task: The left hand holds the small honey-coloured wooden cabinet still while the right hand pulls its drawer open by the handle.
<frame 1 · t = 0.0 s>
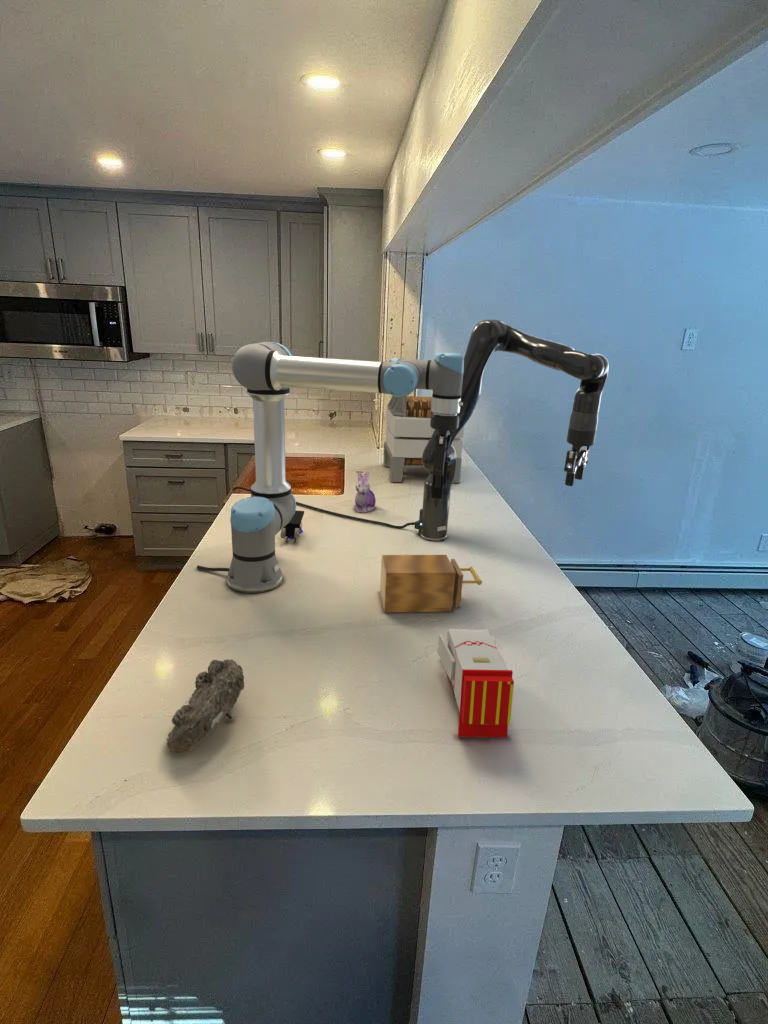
left hand: (439, 490, 156), 28 cm above the counter, tool pointing down, fingers open, 13 cm apart
right hand: (573, 482, 165), 29 cm above the counter, tool pointing down, fingers open, 8 cm apart
cabinet: (414, 601, 154), on the counter
fossil: (212, 717, 108), on the counter
grey boxy piece: (419, 473, 275), on the counter
drawer: (437, 582, 153), point 6 cm above the counter, slide at 1.1 cm
figurine: (364, 509, 223), on the counter
toy: (469, 691, 119), on the counter
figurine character: (292, 537, 193), on the counter
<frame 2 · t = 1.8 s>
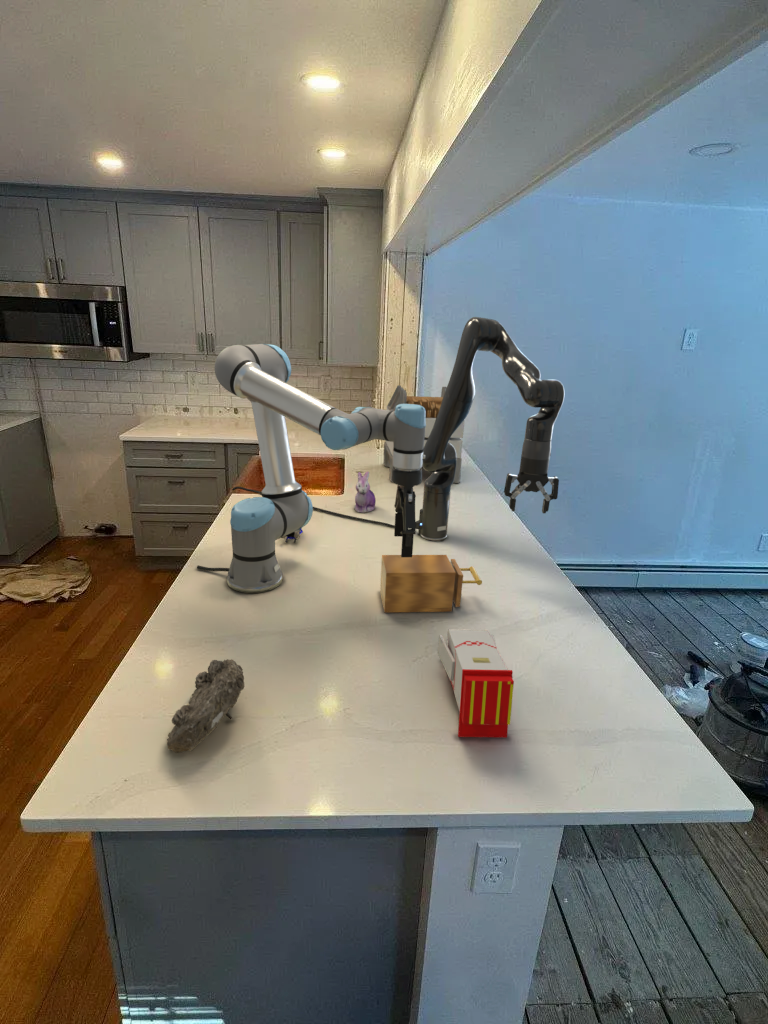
left hand: (402, 546, 148), 16 cm above the counter, tool pointing down, fingers open, 13 cm apart
right hand: (528, 511, 158), 23 cm above the counter, tool pointing down, fingers open, 8 cm apart
nothing on the counter moved.
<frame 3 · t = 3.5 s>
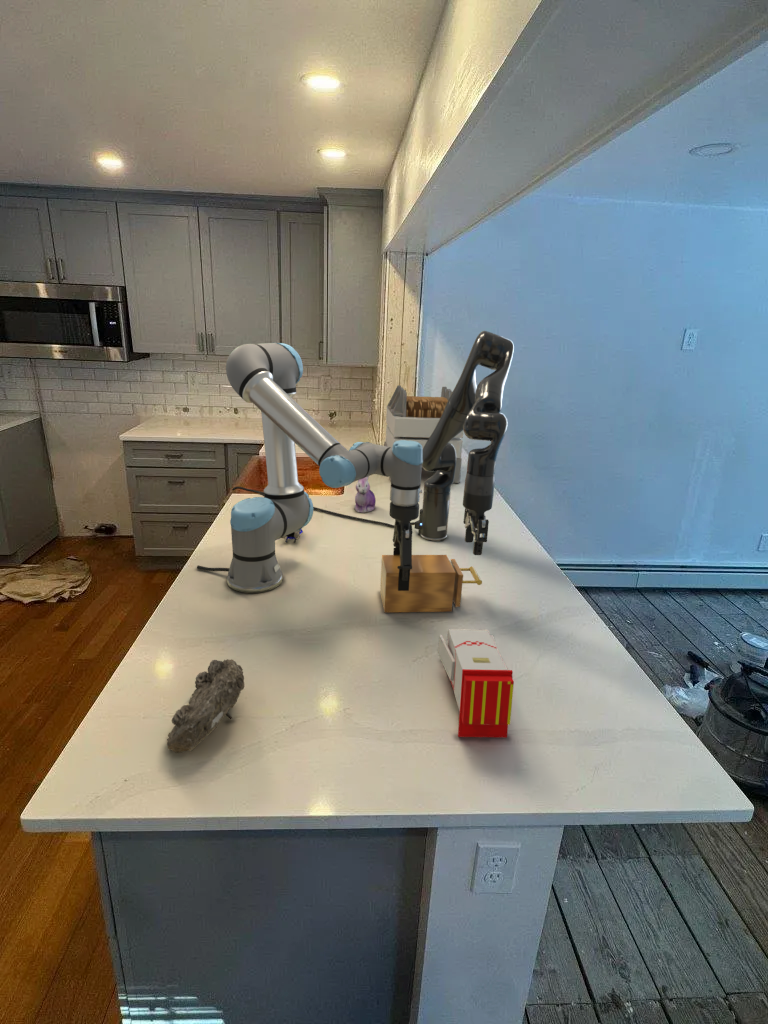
left hand: (400, 579, 151), 7 cm above the counter, tool pointing down, fingers closed on cabinet, 11 cm apart
right hand: (472, 548, 151), 16 cm above the counter, tool pointing down, fingers open, 8 cm apart
cabinet: (414, 601, 154), on the counter, touching left hand
everything else where it was.
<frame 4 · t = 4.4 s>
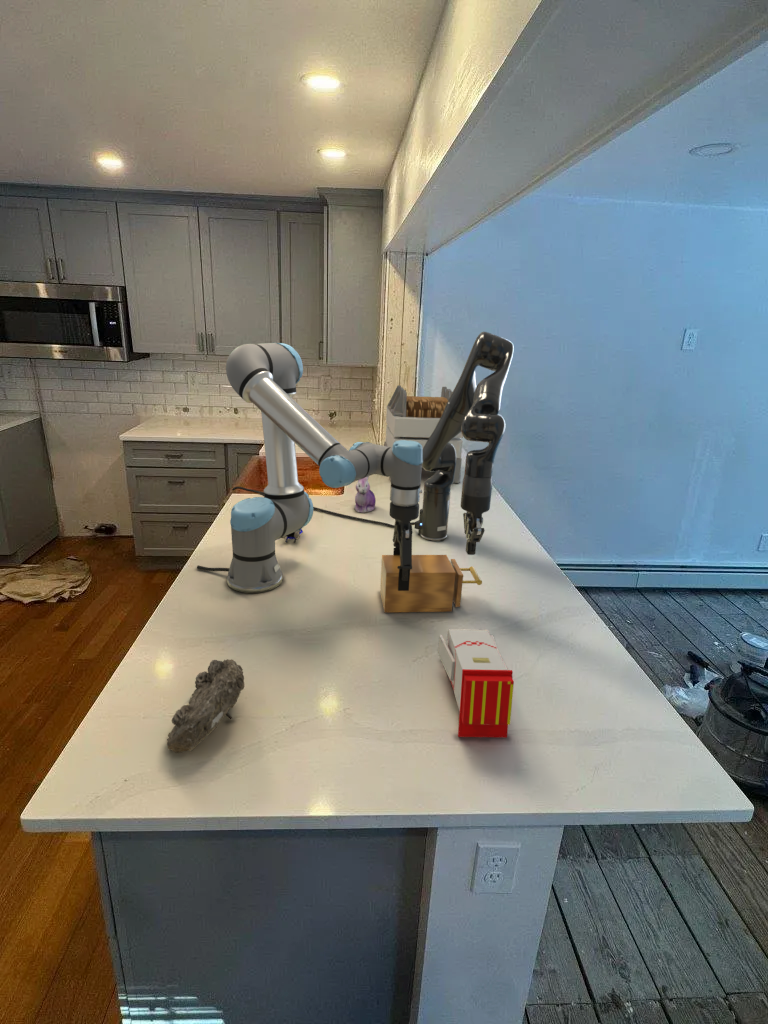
left hand: (400, 579, 151), 7 cm above the counter, tool pointing down, fingers closed on cabinet, 11 cm apart
right hand: (470, 553, 151), 14 cm above the counter, tool pointing down, fingers closed
cabinet: (414, 601, 154), on the counter, touching left hand
everything else where it was.
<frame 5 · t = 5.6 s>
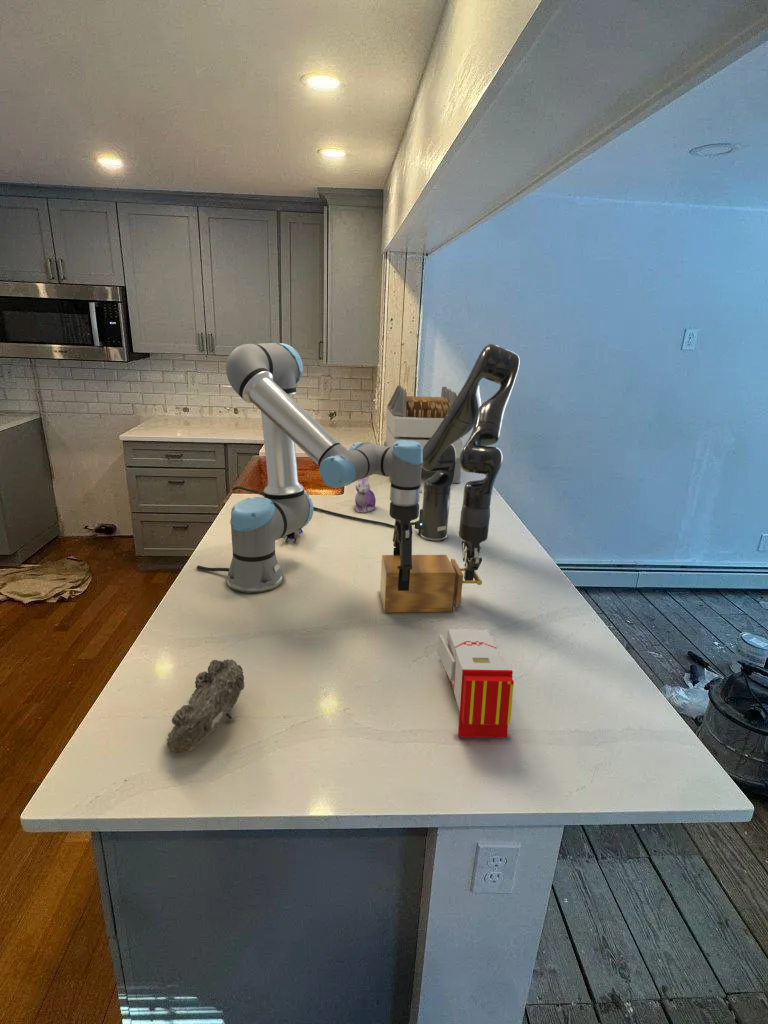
left hand: (400, 579, 151), 7 cm above the counter, tool pointing down, fingers closed on cabinet, 11 cm apart
right hand: (468, 580, 154), 6 cm above the counter, tool pointing down, fingers closed
cabinet: (415, 601, 154), on the counter, touching left hand
drawer: (437, 582, 153), point 6 cm above the counter, slide at 1.1 cm, touching right hand
everything else where it was.
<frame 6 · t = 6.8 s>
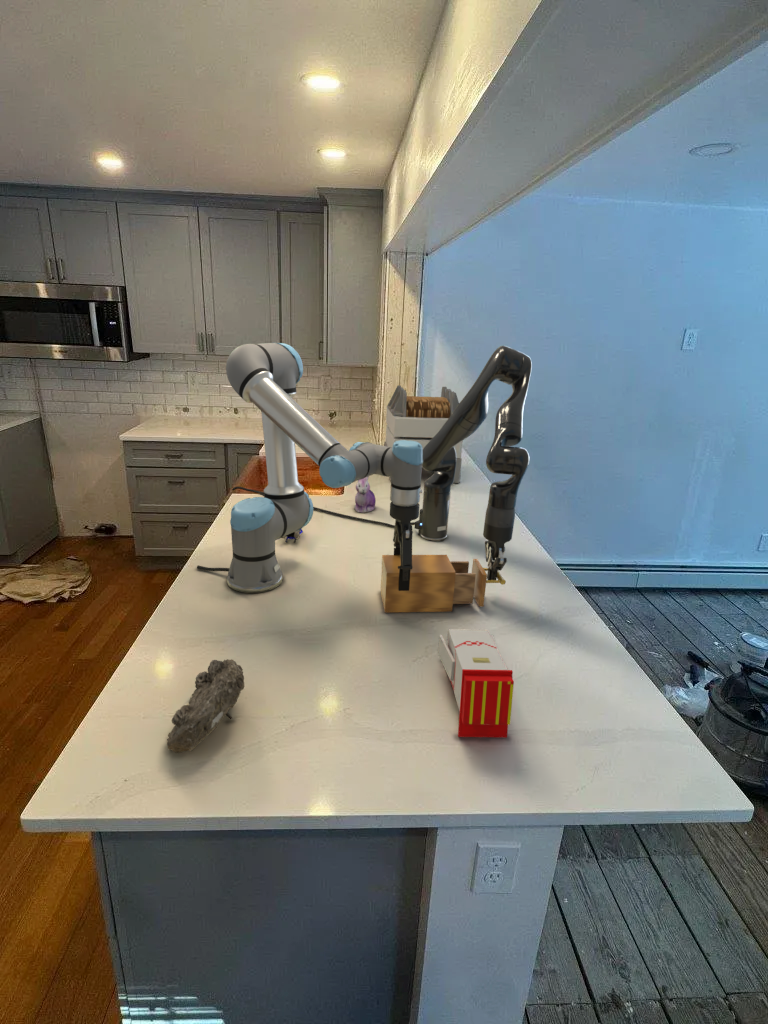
left hand: (400, 579, 151), 7 cm above the counter, tool pointing down, fingers closed on cabinet, 11 cm apart
right hand: (491, 580, 154), 6 cm above the counter, tool pointing down, fingers closed
cabinet: (415, 601, 154), on the counter, touching left hand
drawer: (460, 582, 154), point 6 cm above the counter, slide at 7.4 cm, touching right hand
everything else where it was.
when the left hand's fingers open (7 cm above the counter, at t = 8.6 s): cabinet stays where it is, on the counter.
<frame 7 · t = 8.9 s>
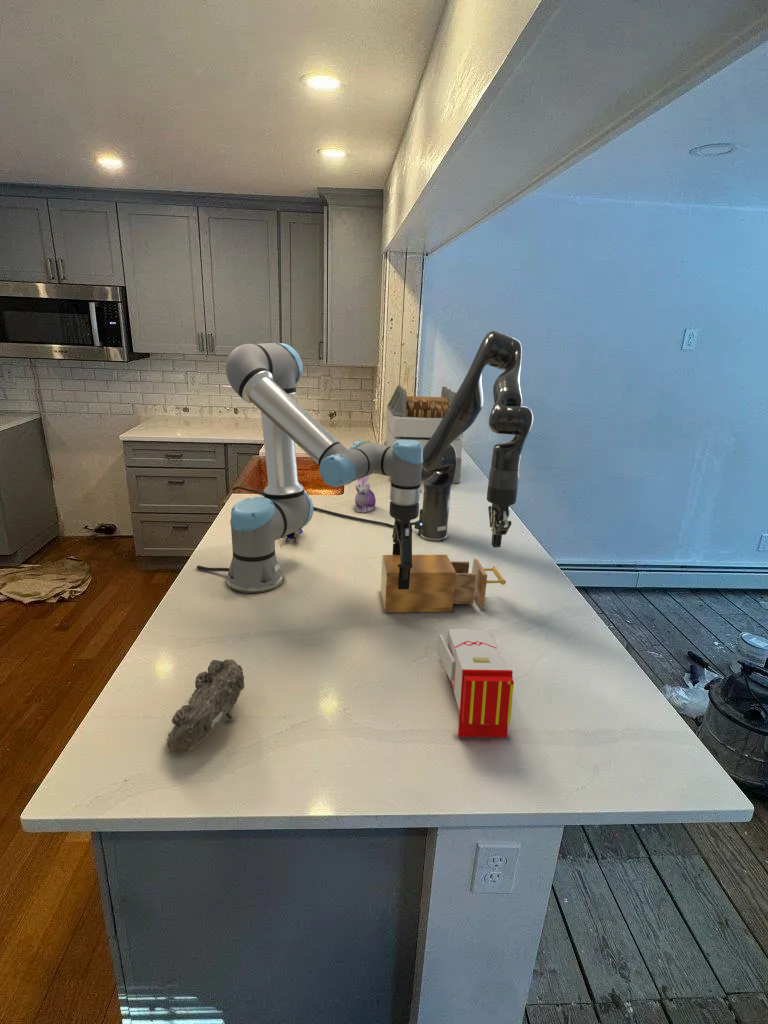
left hand: (400, 576, 151), 8 cm above the counter, tool pointing down, fingers open, 13 cm apart
right hand: (495, 546, 151), 16 cm above the counter, tool pointing down, fingers closed
cabinet: (415, 601, 154), on the counter
drawer: (460, 582, 154), point 6 cm above the counter, slide at 7.4 cm
everything else where it was.
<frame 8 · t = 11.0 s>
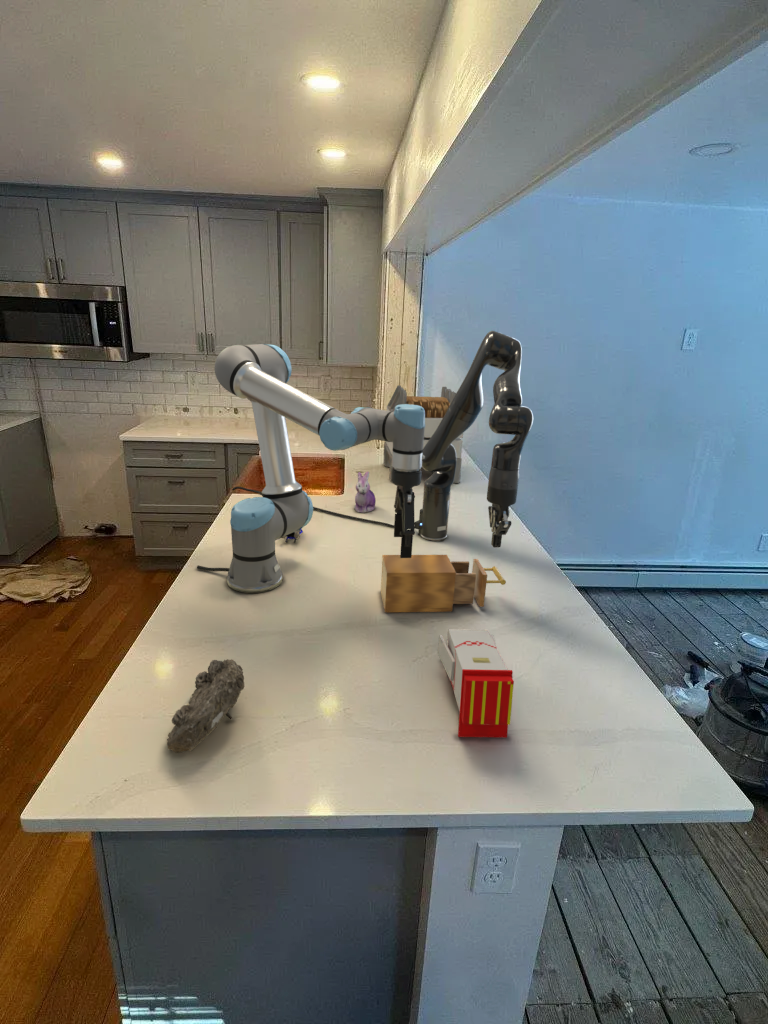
left hand: (402, 546, 148), 16 cm above the counter, tool pointing down, fingers open, 13 cm apart
right hand: (495, 546, 151), 16 cm above the counter, tool pointing down, fingers closed
nothing on the counter moved.
at the end: drawer slide at 7.4 cm; cabinet tilted 0°; cabinet never tilted more than 1° during the clip; cabinet moved 0.2 cm from its start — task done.
